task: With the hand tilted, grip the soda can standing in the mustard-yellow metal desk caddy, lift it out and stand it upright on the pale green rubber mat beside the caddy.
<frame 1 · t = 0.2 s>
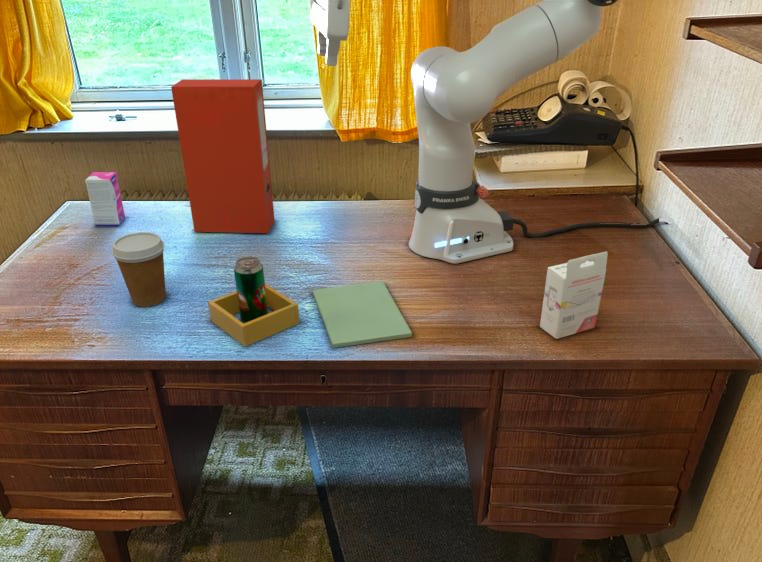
hand: (326, 60, 121), 39 cm above the table, tool pointing down, fingers open, 8 cm apart
file binder: (235, 227, 159), on the table
soda can: (255, 323, 123), resting in desk caddy
ink cartridge box: (566, 328, 118), on the table
green mat: (359, 313, 124), on the table
desk caddy: (255, 322, 122), on the table
disposable coffee cup: (149, 299, 131), on the table
supplement box: (111, 222, 163), on the table
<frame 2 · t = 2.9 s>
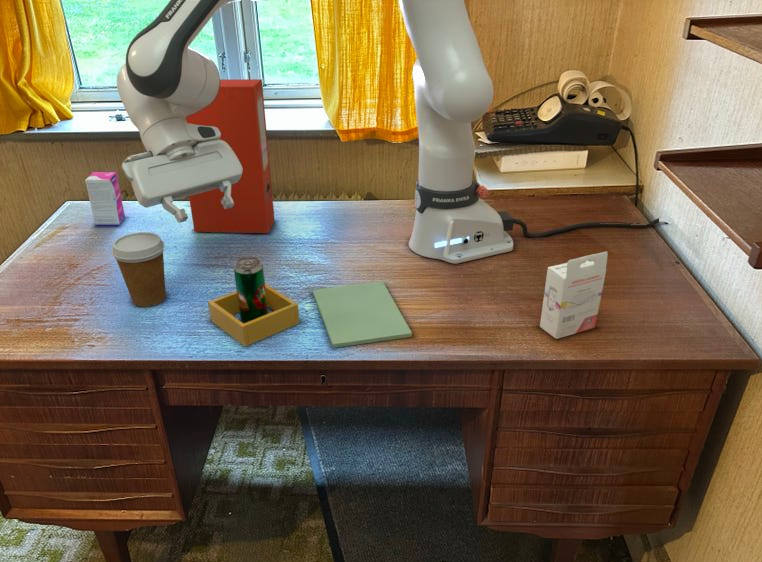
hand: (207, 213, 121), 17 cm above the table, tool tilted 45°, fingers open, 8 cm apart
nothing on the table moved.
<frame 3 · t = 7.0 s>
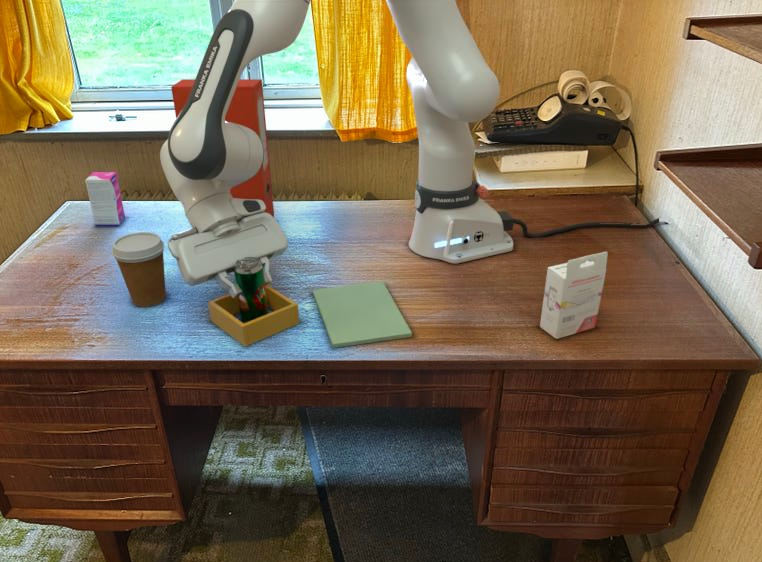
hand: (253, 289, 118), 7 cm above the table, tool tilted 45°, fingers closed on soda can, 5 cm apart
soda can: (255, 323, 123), resting in desk caddy, touching gripper
everything else where it was.
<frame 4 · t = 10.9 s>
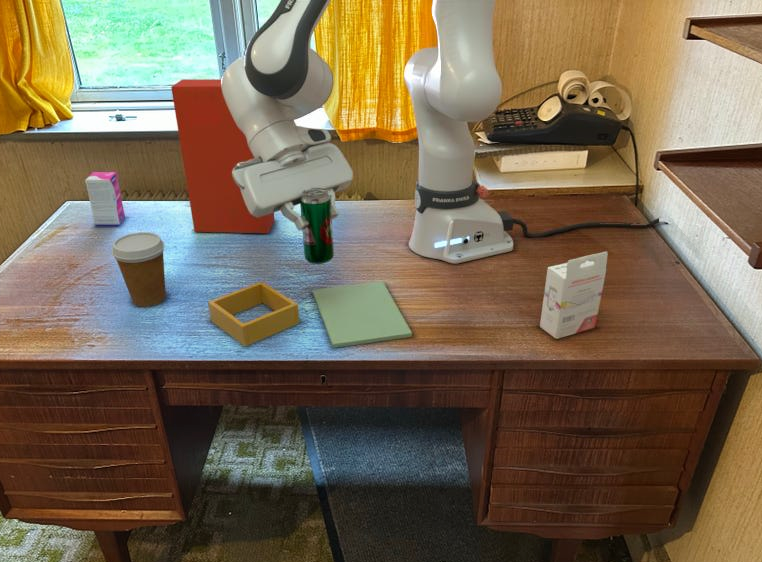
hand: (319, 222, 113), 18 cm above the table, tool tilted 45°, fingers closed on soda can, 5 cm apart
soda can: (319, 260, 117), point 11 cm above the table, touching gripper
everything else where it was.
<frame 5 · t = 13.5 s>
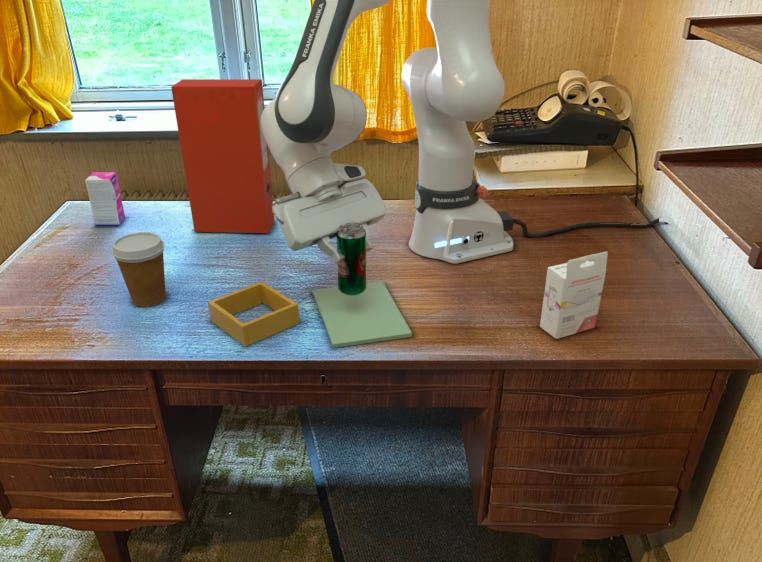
hand: (354, 256, 117), 12 cm above the table, tool tilted 45°, fingers closed on soda can, 5 cm apart
soda can: (352, 291, 121), point 5 cm above the table, touching gripper
everything else where it was.
when the fingers open (7 cm above the table, at t = 15.2 s): soda can stays where it is, resting on green mat.
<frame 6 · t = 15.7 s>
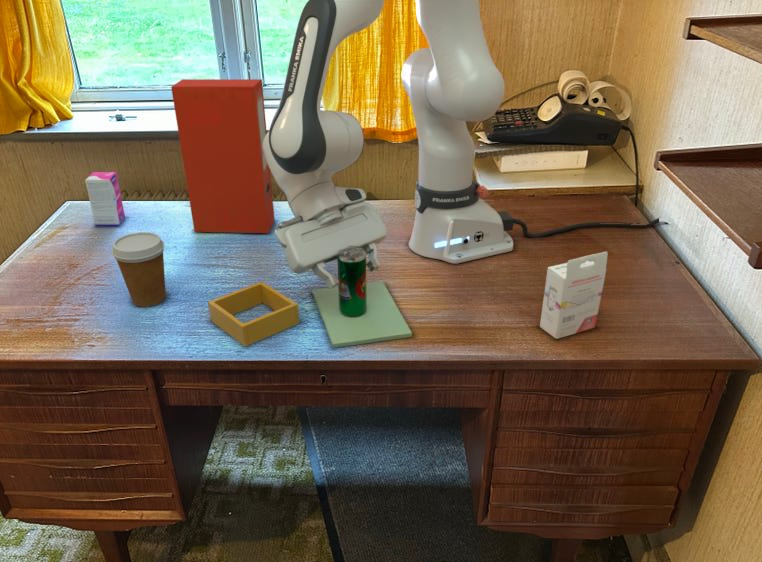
hand: (355, 277, 119), 8 cm above the table, tool tilted 45°, fingers open, 8 cm apart
soda can: (353, 312, 123), point 1 cm above the table, touching green mat
everything else where it was.
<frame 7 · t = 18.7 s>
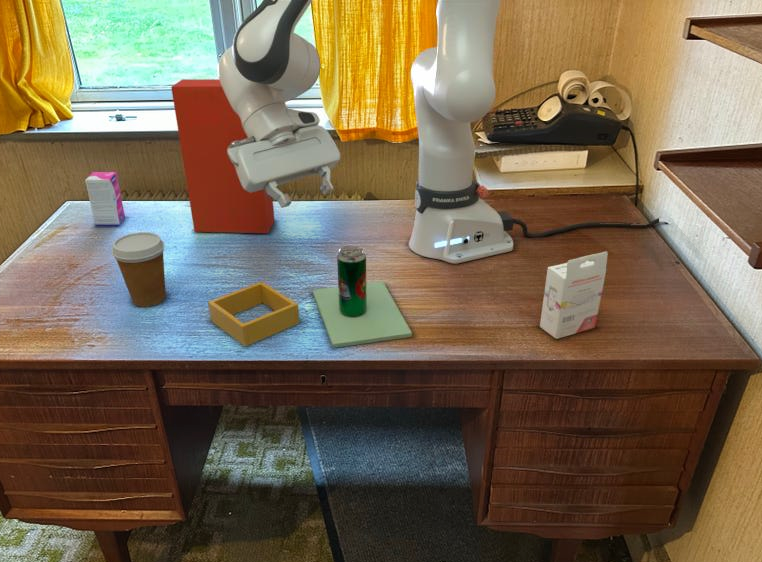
hand: (308, 198, 121), 19 cm above the table, tool tilted 45°, fingers open, 8 cm apart
nothing on the table moved.
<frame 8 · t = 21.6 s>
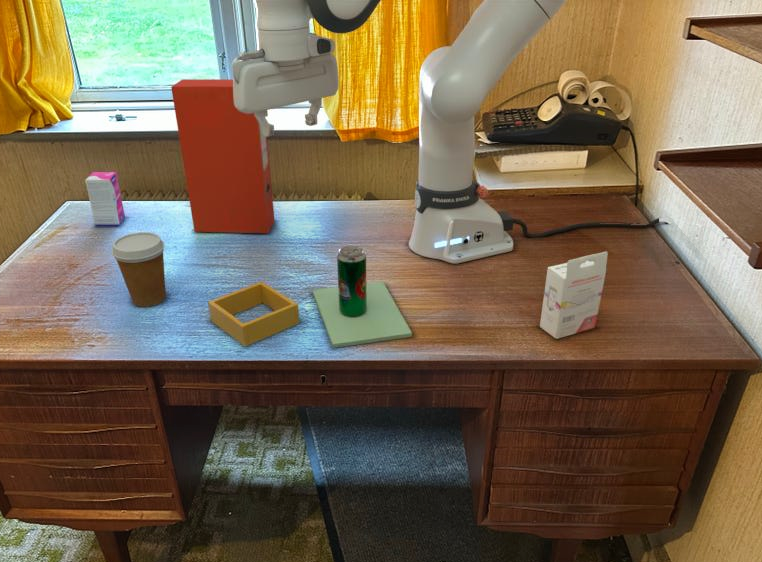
hand: (290, 129, 121), 29 cm above the table, tool pointing down, fingers open, 8 cm apart
nothing on the table moved.
at the end: soda can inside the target area on the green mat (1.2 cm from its centre), point 0.6 cm above the green mat's base; soda can tilted 0°; soda can touching green mat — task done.
